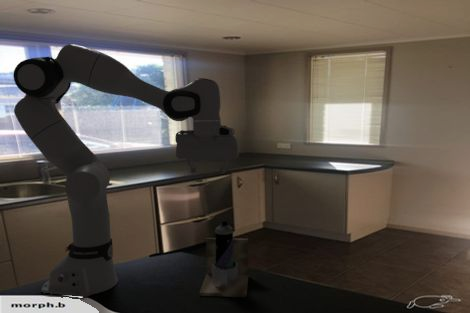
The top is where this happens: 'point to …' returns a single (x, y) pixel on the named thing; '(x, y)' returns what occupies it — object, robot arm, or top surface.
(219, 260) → the spray can
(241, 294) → the brown l-shaped piece
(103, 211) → the robot arm
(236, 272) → the ring
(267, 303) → the top surface
